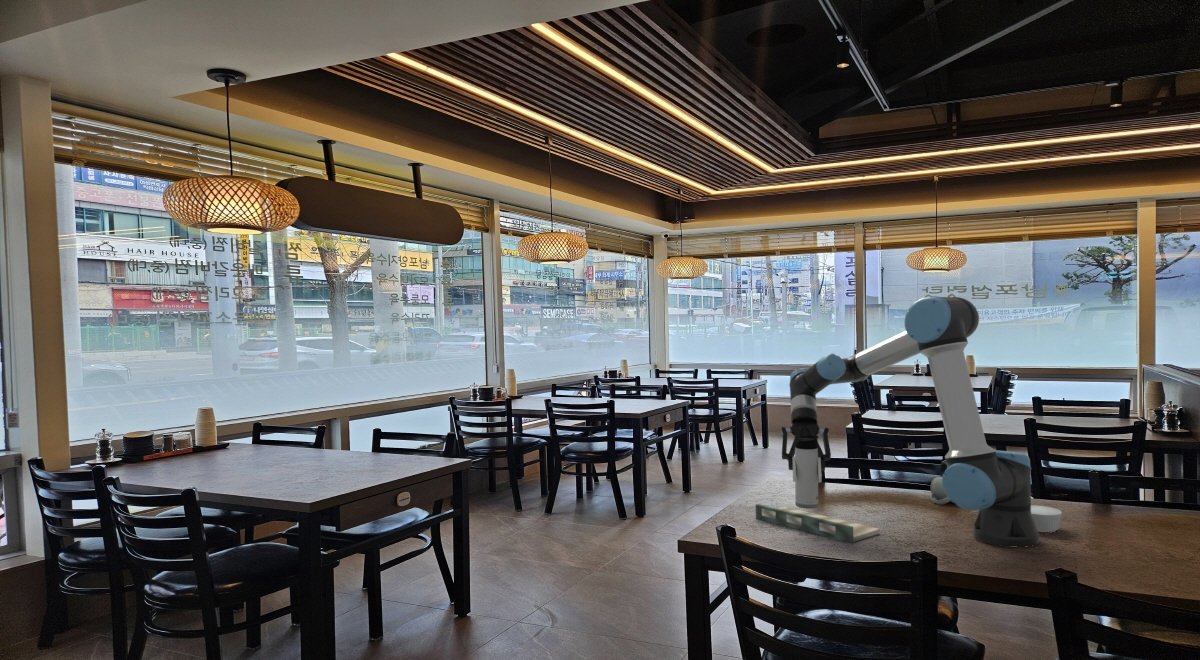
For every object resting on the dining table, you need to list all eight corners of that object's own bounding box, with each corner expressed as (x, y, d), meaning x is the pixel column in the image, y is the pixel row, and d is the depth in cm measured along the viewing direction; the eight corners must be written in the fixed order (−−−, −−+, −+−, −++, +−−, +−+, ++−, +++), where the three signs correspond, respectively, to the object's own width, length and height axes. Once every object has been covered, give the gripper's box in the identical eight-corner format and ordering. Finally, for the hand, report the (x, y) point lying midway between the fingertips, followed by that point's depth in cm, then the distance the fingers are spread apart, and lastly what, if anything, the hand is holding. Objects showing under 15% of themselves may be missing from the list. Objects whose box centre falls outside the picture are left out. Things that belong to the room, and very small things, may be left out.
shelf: (879, 533, 199) (879, 518, 199) (850, 542, 191) (850, 527, 191) (784, 510, 224) (784, 497, 224) (755, 518, 216) (755, 504, 216)
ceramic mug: (940, 496, 238) (940, 472, 238) (966, 501, 232) (965, 476, 232) (924, 502, 232) (923, 478, 232) (949, 507, 225) (949, 482, 225)
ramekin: (1015, 521, 208) (1015, 502, 208) (1061, 526, 203) (1061, 507, 203) (1014, 531, 199) (1014, 511, 199) (1063, 536, 193) (1062, 516, 193)
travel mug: (823, 507, 207) (823, 437, 207) (803, 509, 205) (802, 438, 205) (811, 502, 213) (810, 433, 213) (791, 504, 211) (790, 435, 211)
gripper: (836, 421, 222) (842, 487, 206) (771, 420, 226) (772, 485, 210) (837, 406, 216) (844, 472, 201) (771, 405, 221) (772, 470, 205)
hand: (807, 479), depth 206 cm, fingers closed on travel mug, 6 cm apart
